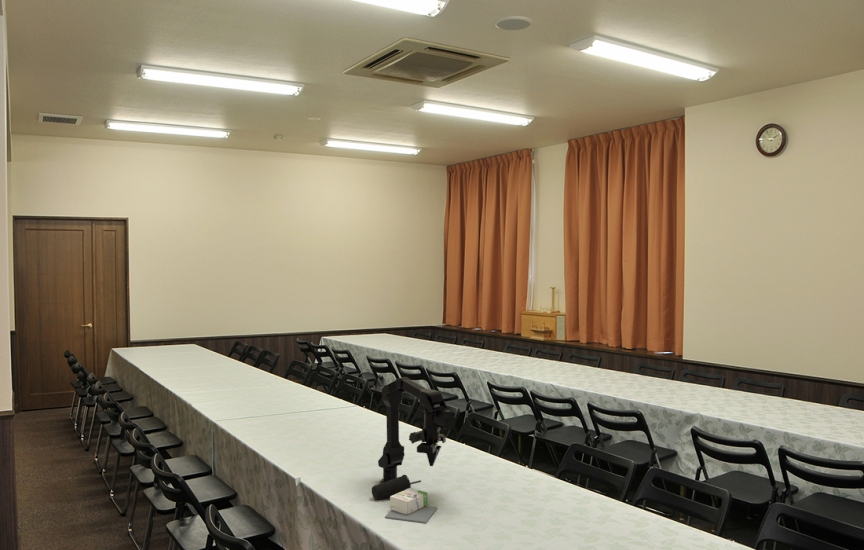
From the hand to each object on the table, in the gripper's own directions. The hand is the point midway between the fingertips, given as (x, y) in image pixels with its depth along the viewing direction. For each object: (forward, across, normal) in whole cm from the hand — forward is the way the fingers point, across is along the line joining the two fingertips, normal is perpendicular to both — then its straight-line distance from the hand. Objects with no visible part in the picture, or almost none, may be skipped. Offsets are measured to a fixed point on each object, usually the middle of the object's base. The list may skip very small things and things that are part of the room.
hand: (431, 465), depth 241 cm
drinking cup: (+10, +8, -20) cm, 24 cm away
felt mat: (+12, +16, -2) cm, 21 cm away
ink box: (+10, +7, -3) cm, 12 cm away
